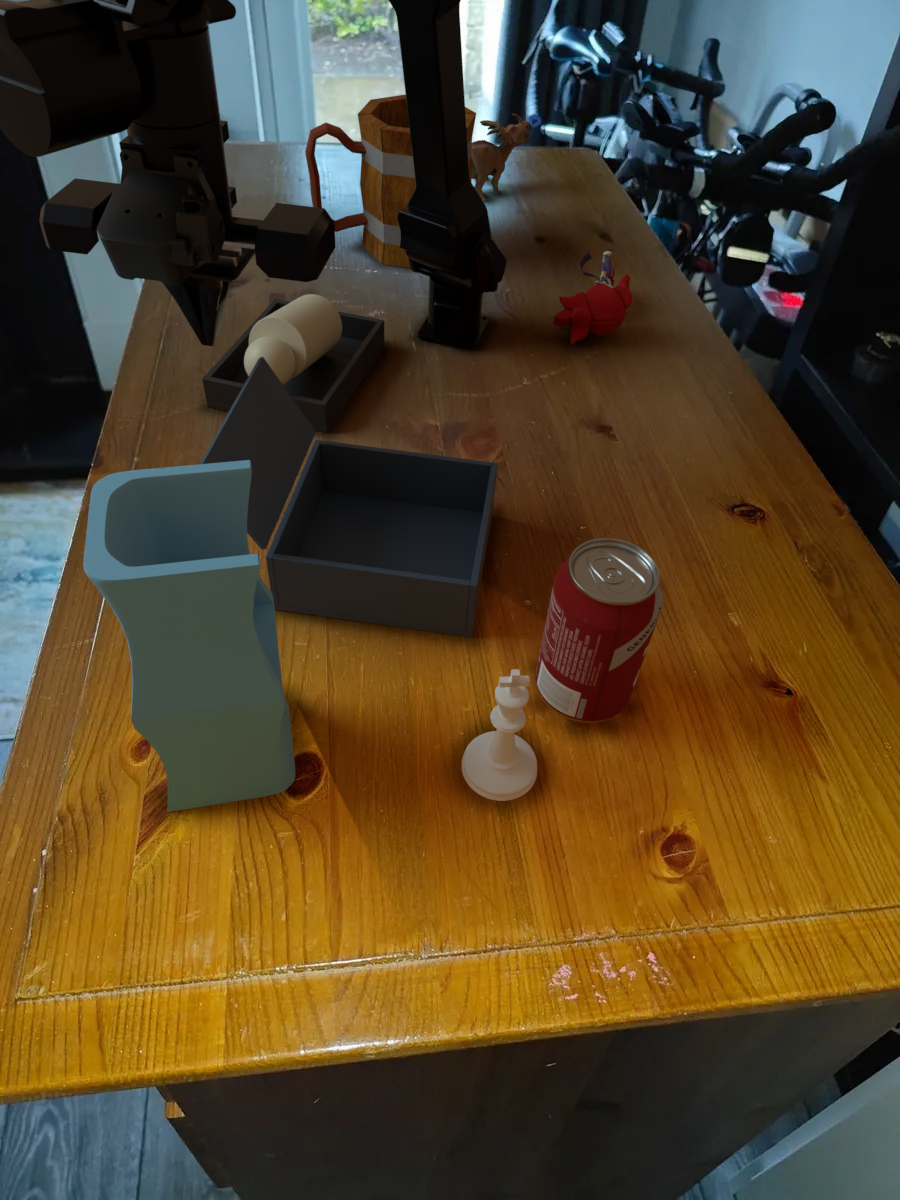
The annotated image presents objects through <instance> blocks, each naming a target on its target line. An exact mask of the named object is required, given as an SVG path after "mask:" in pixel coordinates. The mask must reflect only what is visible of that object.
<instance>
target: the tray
mask: <svg viewBox="0 0 900 1200" xmlns="http://www.w3.org/2000/svg"><path fill="white" fill-rule="evenodd" d="M290 302H291V301H289V300H288V301H287V300H282V299H277V298H274V299H273V300H272V302H271V303H270V304H269V305H268V306H267V307H266V308H265V309H264V310H263V312H262V313H260V315H258V317H257V318H256V319H255V320H254V321H253V322H252V324H251V325H250V326H248V328H247V329H246V330H245V331H244V332H243V333H242V334H241V335H240V337H239V338H238V339H237V340H236V341H235V342H234V343H233V344H232V346H230V348H228V349H227V351H226V352H224V354H223V355H222V356H221V358H219V360H218V361H217V362H216V363H215V364H214V365H213V366H212V367H211V368H210V370H208V372H207V373H206V374H205V375H204V376H203V377H202V385H203V390H204V395H205V401H206V407H207V408H211V409H216V410H221V411H224V412H229V411H230V409H231V407H232V405H233V403H234V402H235V400H236V398H237V396H238V395H239V393H240V391H241V389H242V387H243V386H244V384H245V382H246V380H247V379H248V377H249V376H248V374H247V372H246V370H245V366H244V356H245V352H246V350H247V348H248V347H249V336H250V332H251V330H252V328H253V326H254V325H255V324H256V323H257V322H258V321H259V320H261V319H263V318H265V317H266V316H268V315H270V314H271V313H273V312H275V311H277V310H278V309H280V308H282V307H284V306H285V305H287V304H289V303H290ZM337 311H338V310H337ZM338 313H339V315H340V318H341V321H342V335H341V338H340V340H339V342H338V344H337V345H336V346H335V347H334V348H333V349H332V350H330V351H329V352H328V353H326V354H325V355H324V356H322V357H321V358H320V359H318V360H317V361H316V362H314V363H313V364H312V365H310V366H309V367H308V368H306V369H305V370H304V371H302V372H301V373H300V374H299V375H297V376H296V377H294V378H291V379H290V380H289V381H288V382H287V383H286V384H285V385H283V386H284V387H285V389H286V390H287V392H288V393H289V395H290V396H291V397H292V399H293V400H294V402H295V403H296V404H297V406H298V407H299V409H300V410H301V412H302V413H303V414H304V416H305V417H306V419H307V420H308V422H309V423H310V424H311V426H312V427H313V429H314V430H315V431H316V432H320V433H325V434H328V433H329V431H330V430H331V429H332V427H333V425H334V424H335V422H336V421H337V419H338V418H339V416H340V414H341V413H342V412H343V410H344V409H345V407H346V405H347V404H348V403H349V401H350V400H351V398H352V397H353V395H354V394H355V392H356V391H357V389H358V388H359V386H360V384H361V383H362V382H363V379H365V377H366V376H367V374H368V373H369V371H370V370H371V368H372V367H373V366H374V364H375V362H376V361H377V359H378V358H379V356H380V355H381V353H382V352H383V350H384V349H385V347H386V345H385V319H379V318H374V317H369V316H363V315H360V314H354V313H349V312H344V311H338Z"/></svg>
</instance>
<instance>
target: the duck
mask: <svg viewBox="0 0 900 1200" xmlns="http://www.w3.org/2000/svg"><path fill="white" fill-rule="evenodd" d="M289 302H290V303H289V304H287V305H285V306H284V307H282V308H280V309H278V310H277V311H275V312H273V313H271V314H270V315H268V316H266V317H265V318H263V319H261V320H259V321H258V322H257V323H256V324H255V325H254V326H253V328H252V330H251V332H250V336H249V347H248V348H247V350H246V352H245V356H244V366H245V370H246V372H247V374H248V376H249V375H250V373H251V372H252V370H253V368H254V366H255V364H256V363H257V361H258V359H259V358H261V357H263V358H264V359H265V360H266V362H267V363H268V365H269V366H270V367H271V369H272V370H273V372H274V373H275V375H276V376H277V377H278V379H279V380H280V382H281V383H282V385H285V384H286V383H287V382H288V381H289V380H290V379H291V378H294V377H296V376H297V375H299V374H300V373H301V372H302V371H304V370H305V369H306V368H308V367H309V366H310V365H312V364H313V363H314V362H316V361H317V360H318V359H320V358H321V357H322V356H324V355H325V354H326V353H328V352H329V351H330V350H332V349H333V348H334V347H335V346H336V345H337V344H338V342H339V340H340V338H341V335H342V321H341V318H340V315H339V313H338V309H337V308H336V307H335V305H334V304H333V303H332V302H331V301H330V300H329V299H327V298H326V297H324V296H321V295H319V294H315V293H307V294H304V295H301V296H299V297H298V298H296V299H294V300H292V301H289Z"/></svg>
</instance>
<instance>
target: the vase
mask: <svg viewBox="0 0 900 1200" xmlns="http://www.w3.org/2000/svg"><path fill="white" fill-rule="evenodd" d="M251 476H252V468H251V461H250V460H243V461H232V462H221V463H209V464H200V463H199V464H189V465H188V464H187V465H177V466H166V467H155V468H144V469H143V468H142V469H134V470H133V469H132V470H125V471H118V472H113V473H110V474H108V475H105V476H104V477H102V478H100V479H98V480H97V481H96V482H95V483H94V484H93V486H92V488H91V491H90V498H89V505H88V515H87V525H86V534H85V542H84V543H85V544H84V553H83V570H84V573H85V574H86V576H87V577H88V579H89V580H90V582H91V583H92V584H93V586H94V587H95V588H96V589H97V590H98V592H99V593H100V594H101V596H102V597H103V598H104V600H105V601H106V603H107V604H108V605H109V607H110V609H111V610H112V612H113V613H114V615H115V617H116V618H117V620H118V622H119V623H120V625H121V628H122V632H123V633H124V636H125V638H126V643H127V646H128V652H129V657H130V668H131V704H130V705H131V707H130V721H131V723H132V725H133V728H134V730H135V731H136V732H137V733H138V734H140V735H141V736H142V738H144V740H146V741H147V742H148V744H150V746H151V747H152V748H153V749H154V751H155V752H156V753H157V755H158V756H159V758H160V760H161V763H162V765H163V767H164V772H165V775H166V776H165V777H166V784H167V785H166V786H167V813H170V812H177V811H182V810H183V811H184V810H189V809H196V808H201V807H208V806H215V805H221V804H227V803H233V802H234V803H235V802H239V801H240V802H241V801H244V800H245V801H246V800H253V799H259V798H264V797H269V796H274V795H277V794H281V793H283V792H285V791H286V790H288V789H289V787H291V786H292V784H293V783H294V781H295V779H296V762H295V751H294V744H293V735H292V734H293V733H292V723H291V714H290V713H291V712H290V707H289V703H288V701H287V699H286V696H285V694H284V688H283V687H284V686H283V680H282V668H281V659H280V648H279V639H278V630H277V629H278V628H277V618H276V610H275V607H274V600H273V593H272V592H271V589H270V588H269V587H268V586H267V584H266V583H265V582H264V580H263V579H262V577H261V575H260V572H261V559H260V554H259V553H251V552H250V547H249V545H248V544H249V543H248V542H249V541H248V533H247V514H248V502H249V493H250V484H251Z"/></svg>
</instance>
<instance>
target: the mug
mask: <svg viewBox="0 0 900 1200" xmlns="http://www.w3.org/2000/svg"><path fill="white" fill-rule="evenodd" d="M465 116H466V133H467V151H468V168H469V179H470V181H471V183H473V181H472V180H473V179H472V178H471V149H472V143H473V135H474V128H475V124H476V118H477V117H476V116H477V112H475V111H474V110H472V109H470V108H468V107H466V106H465ZM357 118H358V120H357V121H358V126H359V135H360V141H359V140H354V139H352V137H350V136H349V135H348V134H347V133H346V132H345V130H343V129H342V128H341V127H340V126H337V125H334V124H331V123H328V122H323V123H322V124H319V125H318V126H316V127H314V128H312V129H310V131H309V134H308V137H307V141H306V146H305V150H304V154H305V160H306V166H307V171H308V175H309V177H308V178H309V188H310V197H311V204H312V207H317V208H323V203H322V193H321V179H320V173H319V168H318V163H317V158H316V146H317V145H316V144H317V140H318V139H320V138H322V137H323V136H326V135H328V136H331V137H333V138H335V139H337V140H338V141H339V142H340V144H341V145H342V146H343V147H344V148H345V149H347V150H348V151H349V152H351V153H352V154H359V155H361V161H360V162H361V163H360V179H359V187H360V194H361V202H362V212H360V213H355V214H349V215H346V216H343V217H341V218H338V219H332V220H333V222H334V224H335V233H337V232H342V231H344V230H347V229H348V230H349V229H351V228H357V227H361V226H363V229H362V240H361V247H362V249H363V250H365V251H366V252H367V253H369V254H370V255H371V256H372V257H373V258H374V259H375V260H377V261H378V262H379V263H380V264H381V265H385V266H386V265H387V266H392V267H400V268H407V269H411V266H410V262H409V258H408V256H407V254H406V251H405V249H402V248H400V242H401V231H400V226H399V223H398V219H397V216H398V213H399V211H400V210H402V209H404V208H405V207H406V205H407V203H408V201H409V199H410V197H411V195H412V194H413V192H414V190H415V187H416V181H415V172H414V163H413V154H412V145H411V137H410V128H409V119H408V110H407V102H406V93H405V94H399V95H392V96H385V97H379V98H371V99H370V100H369V101H368V102H367V103H366V104H365V105H364V106H363V107H362V109H360V111H359V112H358V113H357Z"/></svg>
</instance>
